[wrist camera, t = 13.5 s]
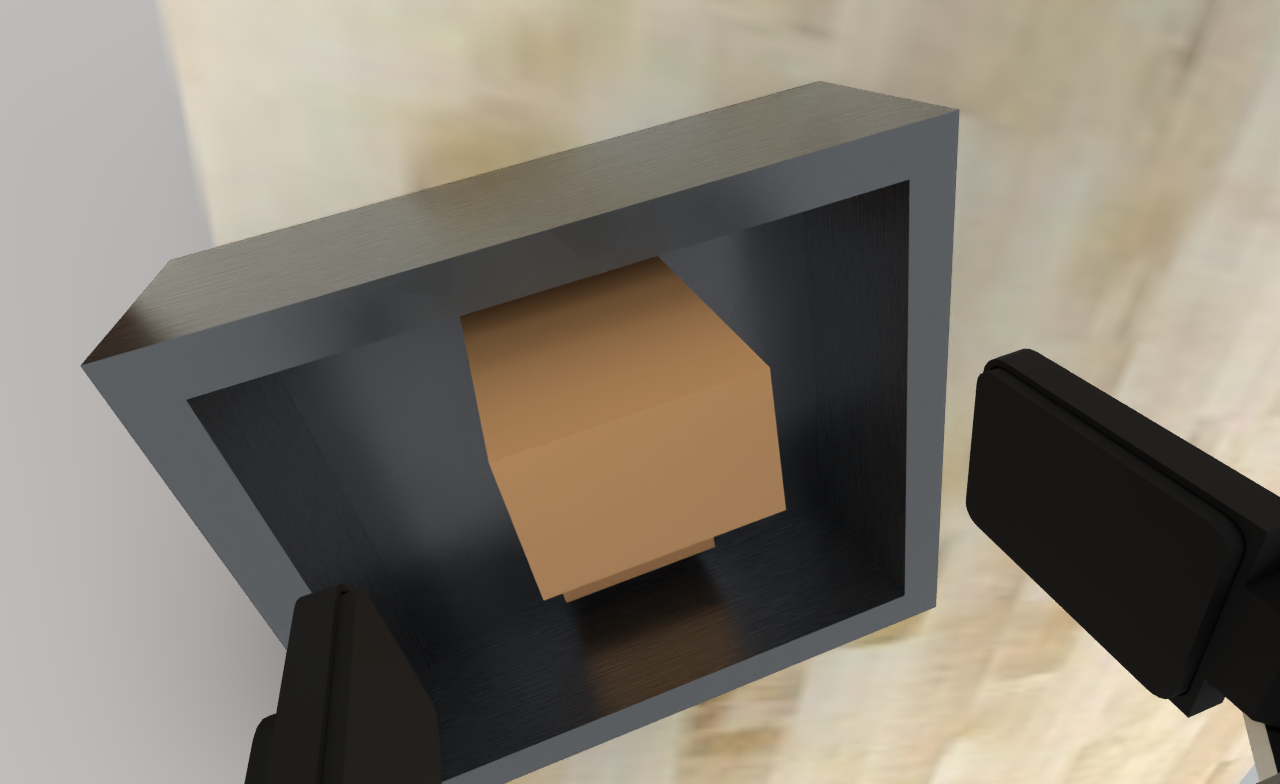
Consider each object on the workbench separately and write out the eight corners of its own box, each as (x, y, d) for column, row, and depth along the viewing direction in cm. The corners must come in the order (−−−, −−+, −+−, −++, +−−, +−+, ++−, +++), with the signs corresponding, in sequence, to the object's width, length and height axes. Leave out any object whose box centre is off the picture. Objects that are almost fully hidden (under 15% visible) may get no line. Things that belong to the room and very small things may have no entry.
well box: (170, 260, 15) (79, 365, 10) (820, 81, 17) (959, 110, 13) (407, 663, 22) (410, 821, 18) (842, 500, 24) (935, 607, 20)
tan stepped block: (454, 293, 16) (488, 463, 10) (640, 237, 17) (770, 367, 11) (556, 566, 21) (618, 788, 15) (696, 514, 22) (808, 707, 16)
